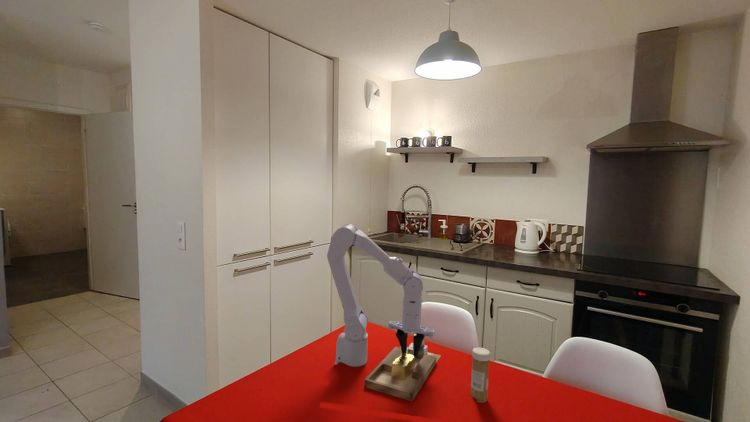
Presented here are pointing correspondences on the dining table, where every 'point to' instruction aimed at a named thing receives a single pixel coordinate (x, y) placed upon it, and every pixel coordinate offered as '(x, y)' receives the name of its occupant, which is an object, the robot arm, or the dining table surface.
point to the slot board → (396, 387)
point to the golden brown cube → (400, 369)
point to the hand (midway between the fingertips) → (410, 355)
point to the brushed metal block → (422, 349)
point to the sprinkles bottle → (480, 374)
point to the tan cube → (409, 358)
